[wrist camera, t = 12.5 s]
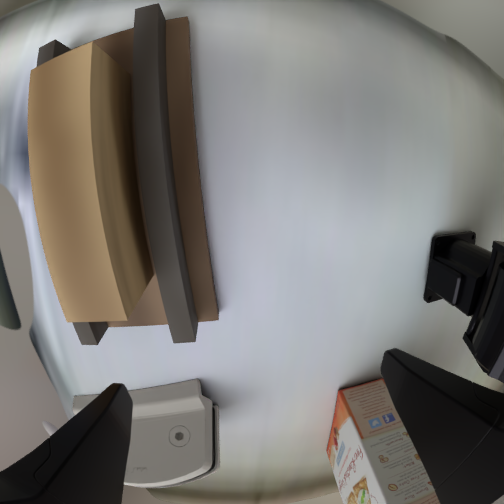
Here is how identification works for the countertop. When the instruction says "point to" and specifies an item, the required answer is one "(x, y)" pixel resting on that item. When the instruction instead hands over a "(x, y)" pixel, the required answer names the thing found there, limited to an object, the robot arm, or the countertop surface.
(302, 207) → the countertop surface
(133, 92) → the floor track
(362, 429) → the cracker box
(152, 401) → the grey upright panel
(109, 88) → the wooden block
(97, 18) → the countertop surface
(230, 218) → the countertop surface
